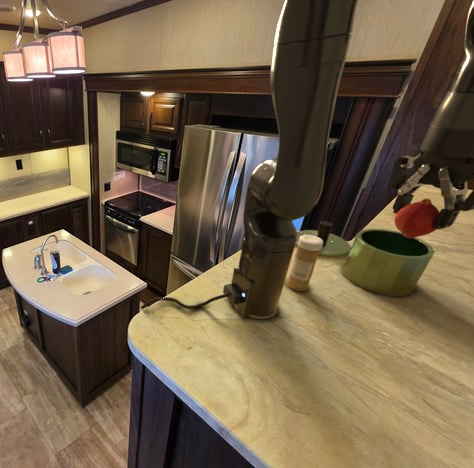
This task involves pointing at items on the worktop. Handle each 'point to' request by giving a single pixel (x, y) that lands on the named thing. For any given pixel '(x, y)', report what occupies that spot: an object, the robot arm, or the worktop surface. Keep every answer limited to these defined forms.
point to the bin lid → (327, 240)
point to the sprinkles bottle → (304, 262)
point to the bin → (387, 261)
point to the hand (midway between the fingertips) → (418, 220)
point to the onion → (416, 219)
